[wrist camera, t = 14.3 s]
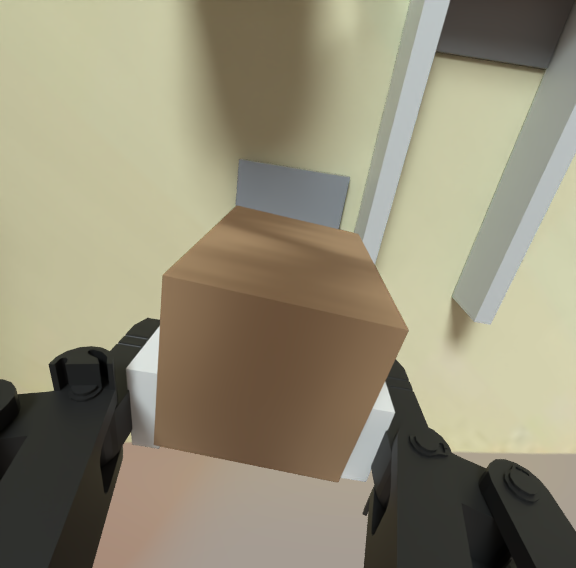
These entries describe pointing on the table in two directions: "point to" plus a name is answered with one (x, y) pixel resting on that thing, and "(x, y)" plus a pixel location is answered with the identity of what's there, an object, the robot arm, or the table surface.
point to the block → (273, 345)
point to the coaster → (292, 192)
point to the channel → (528, 148)
